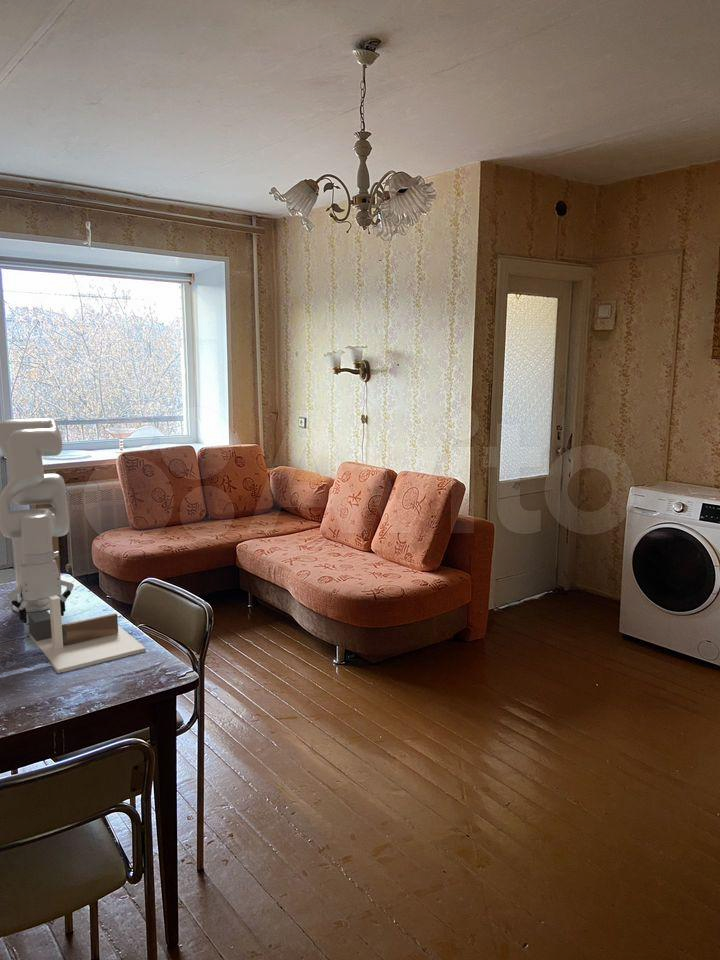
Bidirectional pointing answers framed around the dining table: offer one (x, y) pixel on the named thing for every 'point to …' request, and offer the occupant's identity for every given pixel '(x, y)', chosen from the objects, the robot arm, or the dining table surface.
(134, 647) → the cream base with post
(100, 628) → the wooden slat
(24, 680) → the dining table surface
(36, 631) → the block
